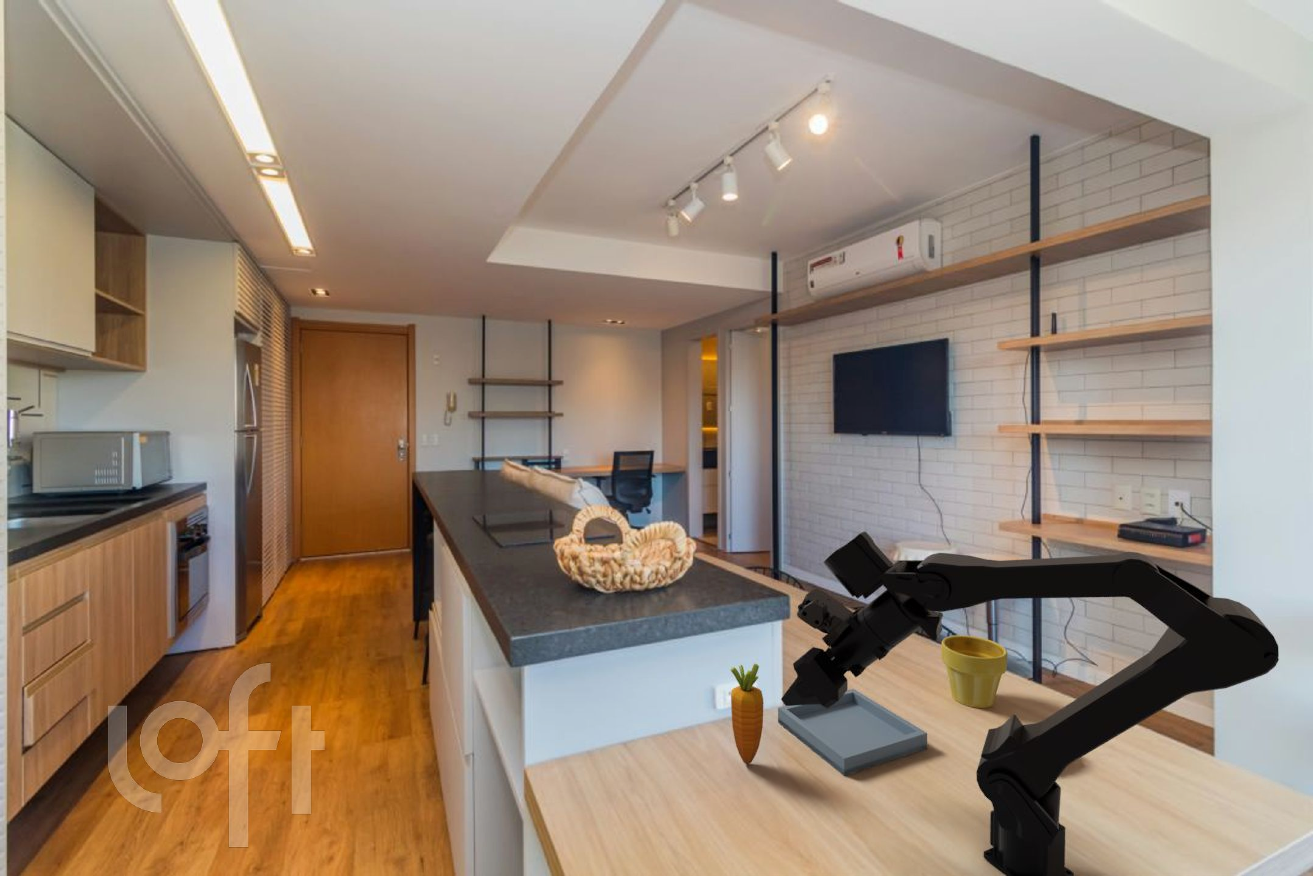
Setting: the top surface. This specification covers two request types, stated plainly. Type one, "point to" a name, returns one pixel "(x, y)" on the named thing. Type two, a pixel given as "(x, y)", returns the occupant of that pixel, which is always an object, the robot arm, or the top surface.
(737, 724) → the carrot
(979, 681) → the plant pot
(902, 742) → the tray
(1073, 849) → the top surface
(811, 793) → the top surface
